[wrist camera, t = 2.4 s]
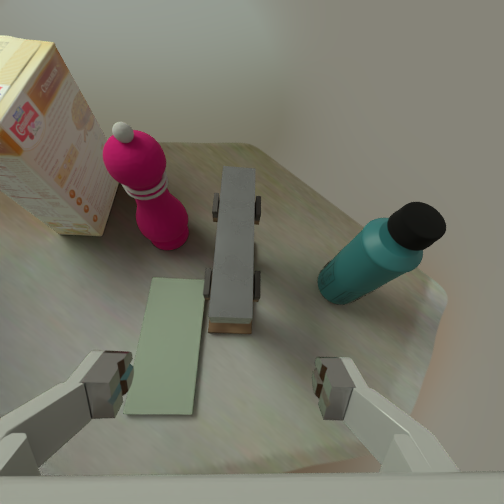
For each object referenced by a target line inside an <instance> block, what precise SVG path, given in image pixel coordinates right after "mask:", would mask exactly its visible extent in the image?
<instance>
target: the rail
mask: <svg viewBox="0 0 504 504" xmlns="http://www.w3.org/2000/svg"><path fill="white" fill-rule="evenodd" d="M254 211H255V169H252V168H240V167H228V166H223V174H222V184H221V194H220V204H219V214H218V224H217V234H216V244H215V254H214V264H213V274H212V285H211V295H210V305H209V315H208V317H209V319H210V322H211V323H237V324H250V322H251V320H252V314H253V262H254Z"/></svg>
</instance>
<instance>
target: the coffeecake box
mask: <svg viewBox="0 0 504 504" xmlns="http://www.w3.org/2000/svg"><path fill="white" fill-rule="evenodd" d="M106 142H107V139H106V137H105V135H104V133H103V131H102V129H101V128H100V126H99V124H98V122H97V120H96V118H95V117H94V115H93V113H92V111H91V110H90V108H89V106H88V104H87V102H86V100H85V99H84V97H83V95H82V93H81V91H80V89H79V88H78V86H77V84H76V82H75V81H74V79H73V77H72V75H71V73H70V72H69V70H68V68H67V66H66V64H65V63H64V61H63V59H62V57H61V55H60V53H59V52H58V50H57V48H56V46H55V43H54V42H47V41H38V40H27V39H20V38H14V37H12V36H0V190H1V191H2V192H3V193H5V194H6V195H7V196H9V197H10V198H11V199H13V200H14V201H15V202H17V203H18V204H19V205H21V206H22V207H23V208H25V209H26V210H27V211H29V212H30V213H31V214H33V215H34V216H35V217H37V218H38V219H40V220H41V221H42V222H43V223H45V224H46V225H47V226H49V227H50V228H52V229H53V230H54V231H56V232H57V233H58V234H63V235H87V236H102V235H103V232H104V229H105V226H106V222H107V219H108V216H109V213H110V210H111V207H112V203H113V200H114V197H115V194H116V191H117V187H118V184H119V182H117V181H116V180H115V179H114V178H113V177H112V176H111V175H110V174H109V172H108V171H107V169H106V167H105V165H104V161H103V148H104V145H105V143H106Z"/></svg>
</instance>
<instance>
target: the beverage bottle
mask: <svg viewBox="0 0 504 504" xmlns="http://www.w3.org/2000/svg"><path fill="white" fill-rule="evenodd" d="M445 231H446V223H445V220H444V218H443V217H442V215H441V214H440V213H439V212H438V211H437V210H436V209H434V208H433V207H432V206H430V205H428V204H425V203H422V202H411V203H408V204H406V205H405V206H403V207H402V208H401V209H399V210H398V211H396V212H395V213H393V215H391V216H390V217H389V218H378V219H375V220H372V221H370V222H369V223H368V224H367V225H366V226H365V227H364V228H363V230H362V231H361V232H360V233H359V234H358V235H357V236H356V237H355V238H354V239H353V240H352V241H351V242H350V243H349V242H348V243H349V244H348V245H346V246H345V247H344V248H343V247H342V248H343V249H342V250H341V251H340V252H339V253H338V254H337V256H335V257H334V258H333V260H332V261H330V263H329V262H328V263H327V264H328V265H327V264H326V265H327V266H326V265H325V266H326V267H325V266H324V267H325V268H324V269H323V270H322V271H320V274H319V277H318V287H319V290H320V292H321V294H322V295H323V296H324V297H325V298H326V299H327V300H328V301H330V302H332V303H335V304H338V305H339V304H343V305H344V304H347V303H349V302H351V301H353V300H354V301H356V300H355V299H357V298H359V297H361V296H363V295H365V294H367V293H369V292H371V291H372V292H373V291H374V290H375V289H377V288H378V287H380V286H382V285H384V284H385V283H386V284H387V283H388V282H389V281H391V280H393V279H395V278H397V277H398V276H400V275H402V274H404V273H406V272H409V271H412V270H413V269H415V268H416V267H417V266H418V265H419V264H420V262H421V260H422V257H423V250H424V249H426V248H427V247H429V246H430V245H432V244H433V243H434V242H435V241H437V240H438V239H440V238H441V237H442V236H443V235H444V233H445ZM375 291H376V290H375ZM372 292H371V293H372ZM369 294H370V293H369ZM365 296H366V295H365ZM361 298H362V297H361ZM359 299H360V298H359ZM357 300H358V299H357ZM354 301H353V302H354ZM351 303H352V302H351Z"/></svg>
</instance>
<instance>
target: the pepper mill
mask: <svg viewBox="0 0 504 504" xmlns="http://www.w3.org/2000/svg"><path fill="white" fill-rule="evenodd" d="M112 132H113V136H111V137H110V138H109V139H108V140H107V142H106V143H105V145H104V148H103V161H104V165H105V167H106V169H107V171H108V172H109V174H110V175H111V176H112V177H113V178H114V179H115V180H116V181H117V182H119V183H121V184H122V186H123V187H124V189H125V191H126V192H127V194H128V195H130V196H131V197H133V198H135V200H136V203H137V211H136V221H137V225H138V227H139V229H140V231H141V233H142V234H143V235H144V236H145V237H146V238H148V239H150V240H151V242H152V243H153V245H154V246H156V247H157V248H159V249H162V250H173V249H177V248H179V247H180V246H182V245H183V244H184V243H185V242H186V240H187V238H188V235H189V230H188V226H187V224H188V215H187V212H186V210H185V208H184V206H183V205H182V204H181V202H180V201H179V200H178V199H176V198H175V197H174V196H172V195H171V194H170V193H169V191H168V189H167V186H168V178H167V176H166V172H165V168H166V158H165V155H164V152H163V150H162V148H161V146H160V145H159V143H158V142H157V141H156V140H155V139H154V138H153V137H151V136H150V135H148V134H146V133H144V132H141V131H137V130H132V128H131V127H130V126H129V125H128V124H127V123H124V122H117V123H116V124H114V126H113V129H112Z"/></svg>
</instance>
